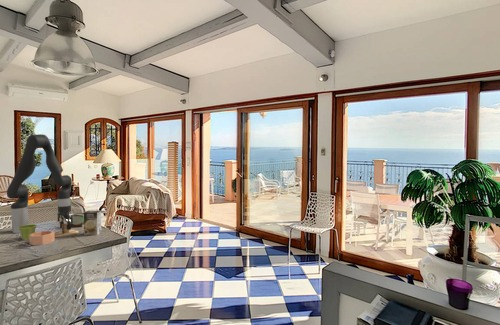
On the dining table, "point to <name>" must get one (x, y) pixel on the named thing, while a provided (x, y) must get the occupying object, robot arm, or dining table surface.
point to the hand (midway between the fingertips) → (65, 228)
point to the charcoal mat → (70, 236)
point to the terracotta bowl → (41, 237)
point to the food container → (77, 220)
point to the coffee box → (92, 222)
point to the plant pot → (27, 231)
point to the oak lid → (65, 232)
